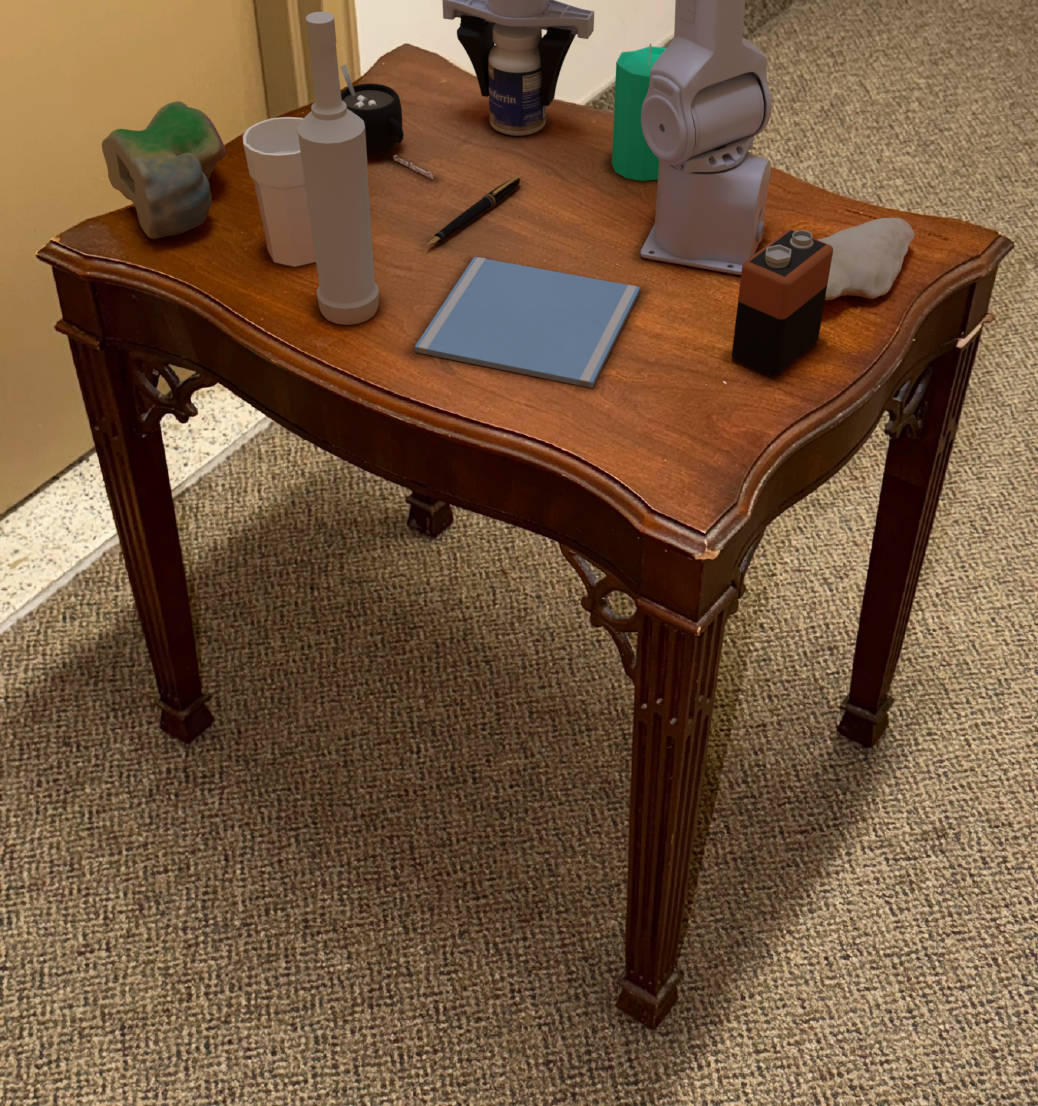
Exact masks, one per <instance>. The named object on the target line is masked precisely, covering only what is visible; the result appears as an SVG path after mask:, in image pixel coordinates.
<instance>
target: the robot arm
mask: <svg viewBox="0 0 1038 1106" xmlns="http://www.w3.org/2000/svg"><path fill="white" fill-rule="evenodd" d="M441 3H442V18H443V19H444V20H450V21H452V20H455V19H456V18H457V19H458V18H459V19H460V23H459V27H458V28H457V29H456V38H457V40H458V42H459V43H460V45H461V46H462V48H463V49H464V51H465V53H466V55H467V56H468V58H469V61H470V62H471V65H472V68H473V70H474V73H475V76H476V79H477V82H478V86H479V90H480V95H481V96H482V97H487V98H489V75H488V56H489V53H490V51H491V49H492V48H493V47H494V46H495V45H496V44H495V43H494V41H493V27H494V25H495V24H496V23H497V24H500V25H504V26H512V27H528V28H535V29H542V31H546V33H545V34H543V35H542V39H541V40H540V41H539V43H538V49H539V54H540V61H541V71H542V84H541V104H542V105H543V106H547V107H549V106H550V105H551V104H552V102H553V100H554V99H555V95H556V90H557V85H558V81H559V77H560V74H561V70H562V68H563V64H564V62H565V59H566V57H567V54H568V52H569V50H570V47H571V46H572V43H573V41H574V39H575V38H576V36H577V38H578V39H583V40H588V39H589V38H590V37H591V36H592V34H593V33H594V30H595V10H590V9H584V8H582V7H581V8H580V7H577V6H574V5H572V4H567V3H565V2H561V1H558V0H442V2H441ZM674 4H675V6H674V26H673V27H674V28H673V29H674V31H673V38H672V39H671V41H670V43H669V44H668V45H667V47H665V48H666V49H665V51H664V52H663V53H662V54H661V56H660V57H659V58H658V60H657V61H656V62H655V64H654V65H653V66H652V68H651V70H650V83H649V90H648V93H647V95H646V97H645V99H644V102H643V105H642V112H641V125H642V131H643V134H644V137H645V140H646V142H647V144H648V146H649V148H650V149H651V150H652V152H653V153H654V154H655V155H656V156H657V157H658V158H659V173H658V180H657V187H656V203H655V217H654V224H653V226H652V228H651V230H650V232H649V234H648V236H647V238H646V240H645V241H644V244H643V245H642V248H641V249H640V252H639V253H640V254H639V255H640V257H642V258H644V259H647V260H648V259H649V260H653V261H654V260H655V261H659V262H664V263H665V262H666V263H671V264H677V265H682V266H688V267H693V268H698V269H705V270H710V271H715V272H720V273H722V272H723V273H727V274H732V275H738V276H741V272H742V265H743V263H744V262H745V261H747V260H748V259H749V258H750V257H752V256H753V255H755V254H756V253H757V249H758V248H759V244H760V243H761V242H762V239H763V236H764V233H765V225H766V224H765V219H766V210H767V204H768V195H769V188H770V181H771V171H772V170H771V169H772V168H771V167H772V163H771V159H767V158H764V157H761V156H759V155H756V154H754V153H752V152H750V151H752V150H753V147H754V139H755V136H758V135H759V134H761V133H762V132H763V131H764V130H765V129H766V128H767V127H768V125H769V122H770V120H771V115H772V96H771V92H770V87H769V84H768V78H767V77H768V76H767V70H768V69H767V67H768V57H767V55H765V53H764V52H763V51H762V50H761V49H760V48H759V47H758V46H757V45H756V44H754V43H753V42H751V41H749V40H748V39H747V38H745V37H743V35H744V25H745V24H744V21H745V8H746V0H675V3H674Z"/></svg>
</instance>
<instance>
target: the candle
mask: <svg viewBox="0 0 1038 1106" xmlns="http://www.w3.org/2000/svg"><path fill="white" fill-rule="evenodd" d="M666 48H667V47H662V46H653V45H652V43H649V46H646V47H642V48H640V49H637V50H630V51H629V50H628V51H622V52H620V55H618V58H617V60H616V62H615V82H614V101H613V102H614V103H613V125H612V127H613V129H612V144H611V145H612V147H611V148H612V149H611V166H612V167H613V170H614V172H615V173H616V174H618V175H620V176H622V177H623V178H625V179H628V180H635V181H641V182H646V181H656V180H657V181H658V173H659V158H658V157H657V156H656V155H655V154H654V153H653V152H652V150H651V149H650V148H649V146H648V144H647V142H646V140H645V137H644V134H643V131H642V125H641V112H642V105H643V102H644V99H645V97H646V95H647V93H648V90H649V83H650V70H651V68H652V66H653V65H654V64H655V62H656V61H657V60H658V58H659V57H660V56H661V54H662V53H663V52H664V51H665V49H666Z"/></svg>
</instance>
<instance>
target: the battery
mask: <svg viewBox="0 0 1038 1106" xmlns="http://www.w3.org/2000/svg"><path fill="white" fill-rule="evenodd" d="M813 236H814V235H813V233H812V232H810V231H809V230H805V229H799V230H794V229H787V230H785V231H784V232H783V233H781V234H780V235H778V236H777V237H776V238H775V239H773V240H772V241H771V242H769V243H768V244H766V245H765V246H764V247H763V248H761V249H760V250H758V251H756V252H755V255H753V256H752V257H750V258H749V259H748V260H747V261H745V262H744V263H743V265H742V272H741V275H740V279H739V280H740V281H739V288H738V289H739V290H738V297H737V307H736V316H735V324H734V331H733V340H732V348H731V349H732V350H731V357H732V359H733V360H735V361H737V362H739V363H742V364H743V365H745V366H748V367H749V368H752V369H754V370H756V371H758V372H760V373H763V374H765V375H767V376H770V377H772V378H774V377H776V376H778V375H780V374H781V373H782V372H783V371H784V370H785V369H787V368H788V367H789V366H790V365H791V364H793V362H795V361H797V360H798V358H800V357H801V356H802V355H803V354H805V352H807V351H808V350H809V349H810V348H811V347H813V346H814V345H815V344H816V343H817V342H818V341H819V337H820V331H821V325H822V319H823V313H824V310H825V309H824V308H825V302H826V300H825V297H826V291H827V285H828V279H829V273H830V267H831V261H832V255H833V247H832V246H831V245H829V244H826V243H824V242H821V241H819V240H818V239H816V238H814V237H813Z"/></svg>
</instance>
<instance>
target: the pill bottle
mask: <svg viewBox="0 0 1038 1106" xmlns="http://www.w3.org/2000/svg"><path fill="white" fill-rule="evenodd" d="M542 37H543V30H542V29H535V28H528V27H512V26H504V25H500V24H497V23H496V24H495V25H494V27H493V41H494V43H495V46H494V47H493V48H492V49H491V51H490V53H489V56H488V75H489V96H488V116H489V123H490V125H491V127H492V128H493V129H494V130H495V131H497V132H499V133H501V134H504V135H508V136H514V137H515V136H519V137H521V136H528V135H533V134H535V133H537V132H539V131H541V130H542V129H543V128H544V126H545V125H546V123H547V115H548V114H547V113H548V111H547V109H548V108H547V107H548V106H543V105H542V104H541V84H542V71H541V61H540V54H539V49H538V43H539V41H540V40H541V39H542Z"/></svg>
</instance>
